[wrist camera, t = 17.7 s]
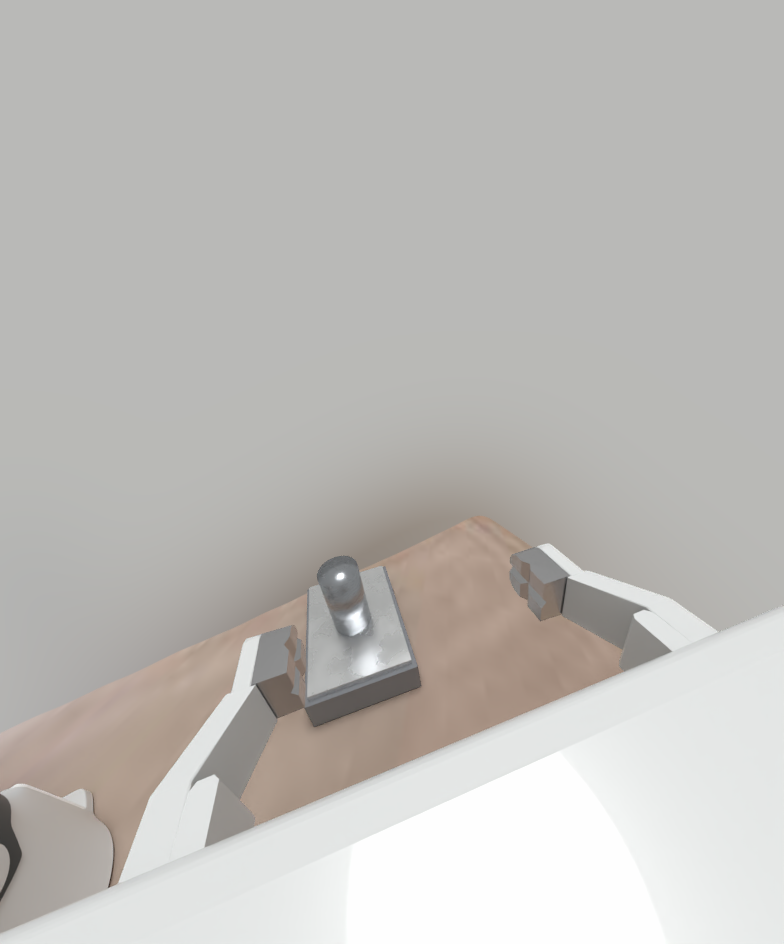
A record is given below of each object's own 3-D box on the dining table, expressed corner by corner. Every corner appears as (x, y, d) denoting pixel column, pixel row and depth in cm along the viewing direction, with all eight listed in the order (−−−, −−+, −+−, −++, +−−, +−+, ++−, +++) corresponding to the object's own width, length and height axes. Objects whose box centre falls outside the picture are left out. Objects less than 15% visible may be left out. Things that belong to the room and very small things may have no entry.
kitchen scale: (314, 726, 33) (302, 704, 31) (314, 603, 48) (306, 583, 46) (421, 686, 35) (416, 662, 33) (388, 580, 50) (383, 560, 48)
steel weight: (335, 641, 36) (316, 592, 32) (333, 608, 41) (317, 561, 37) (373, 629, 37) (359, 580, 33) (367, 598, 42) (355, 551, 37)
